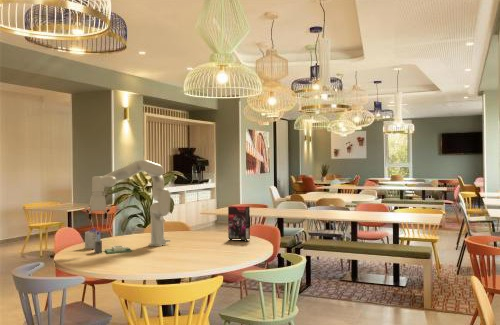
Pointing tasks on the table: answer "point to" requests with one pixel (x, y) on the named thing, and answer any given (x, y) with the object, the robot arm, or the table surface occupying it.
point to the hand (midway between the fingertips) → (97, 219)
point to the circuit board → (118, 249)
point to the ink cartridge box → (91, 238)
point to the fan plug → (98, 246)
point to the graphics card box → (239, 222)
